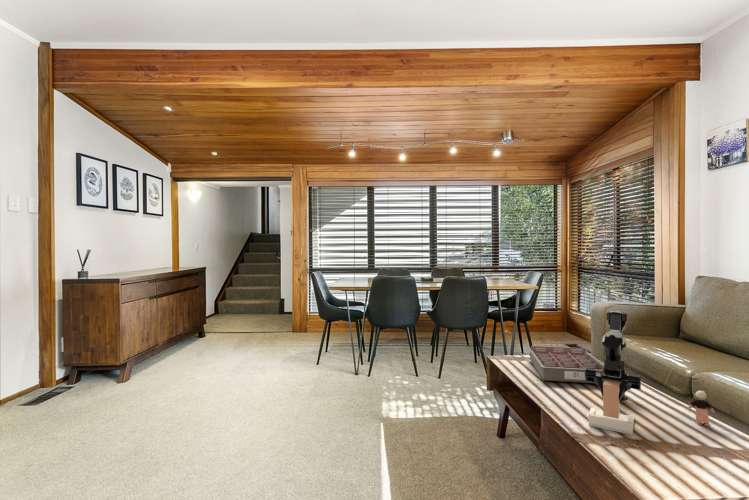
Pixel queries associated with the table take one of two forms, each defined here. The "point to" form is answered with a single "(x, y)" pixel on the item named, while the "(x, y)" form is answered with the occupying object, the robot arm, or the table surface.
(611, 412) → the tall peach block
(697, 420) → the grandmother figurine
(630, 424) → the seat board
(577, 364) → the organizer tray
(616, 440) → the table surface
